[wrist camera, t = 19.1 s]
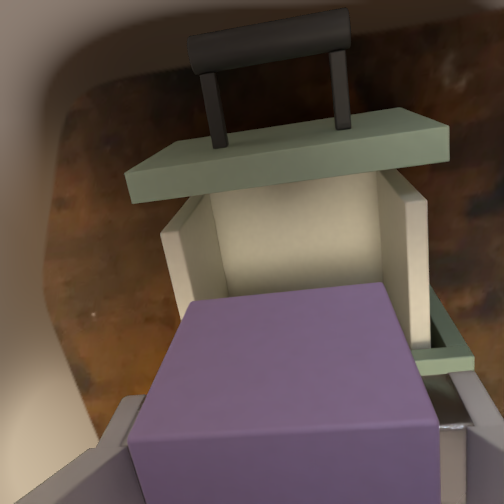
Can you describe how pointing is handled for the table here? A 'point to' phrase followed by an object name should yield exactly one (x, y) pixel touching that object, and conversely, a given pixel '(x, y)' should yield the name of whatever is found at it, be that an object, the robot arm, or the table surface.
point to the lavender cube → (289, 405)
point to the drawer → (296, 186)
